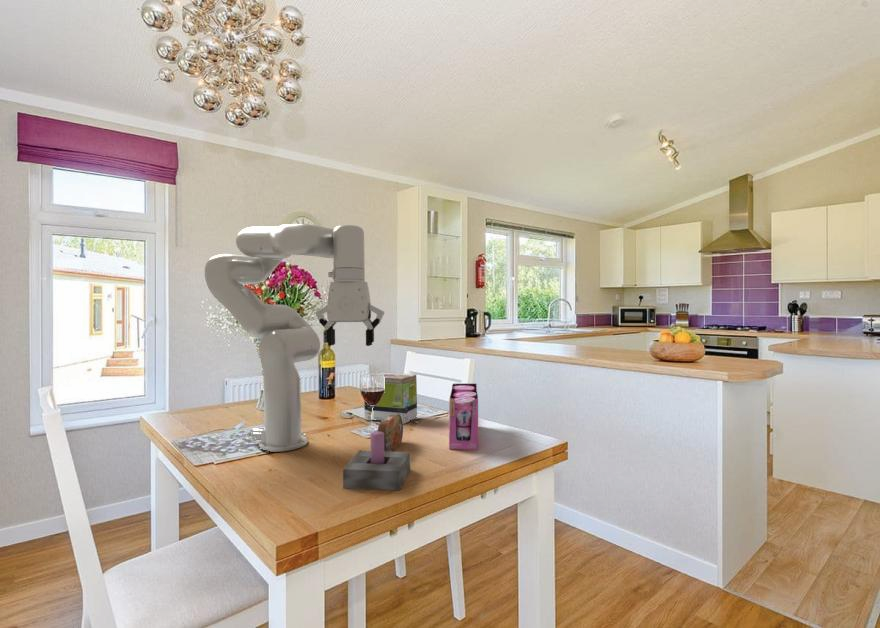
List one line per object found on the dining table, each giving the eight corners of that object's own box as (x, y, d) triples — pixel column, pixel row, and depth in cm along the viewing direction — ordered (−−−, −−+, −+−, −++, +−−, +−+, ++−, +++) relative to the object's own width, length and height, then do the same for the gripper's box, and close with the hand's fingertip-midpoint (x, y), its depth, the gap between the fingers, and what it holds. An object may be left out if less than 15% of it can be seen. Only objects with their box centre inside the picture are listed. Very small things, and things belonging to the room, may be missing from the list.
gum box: (478, 452, 118) (478, 400, 118) (448, 451, 119) (447, 399, 118) (477, 426, 142) (477, 383, 142) (452, 426, 143) (451, 383, 142)
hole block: (343, 487, 96) (342, 469, 96) (360, 467, 108) (360, 450, 108) (399, 490, 95) (398, 471, 95) (410, 469, 107) (409, 452, 106)
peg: (369, 480, 100) (368, 435, 100) (372, 475, 103) (372, 431, 103) (382, 481, 100) (382, 435, 99) (385, 475, 103) (385, 431, 102)
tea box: (418, 417, 154) (417, 373, 153) (403, 425, 144) (403, 378, 144) (379, 413, 160) (379, 371, 159) (363, 420, 151) (362, 375, 150)
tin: (387, 458, 114) (386, 425, 114) (375, 458, 114) (374, 424, 114) (404, 440, 128) (403, 410, 128) (393, 440, 129) (393, 410, 129)
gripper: (309, 276, 110) (310, 346, 111) (379, 275, 108) (380, 347, 109) (321, 277, 118) (322, 343, 118) (387, 276, 116) (387, 344, 116)
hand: (350, 345), depth 114 cm, fingers open, 9 cm apart
